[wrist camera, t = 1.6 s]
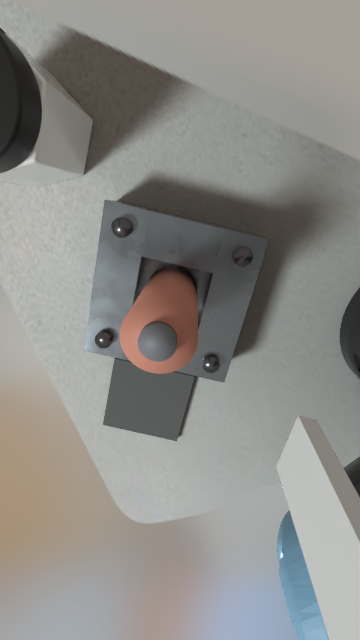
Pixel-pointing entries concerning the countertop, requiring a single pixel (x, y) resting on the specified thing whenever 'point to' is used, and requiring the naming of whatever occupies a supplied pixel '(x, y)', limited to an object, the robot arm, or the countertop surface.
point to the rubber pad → (147, 400)
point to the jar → (38, 123)
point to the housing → (182, 251)
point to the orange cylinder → (162, 322)
